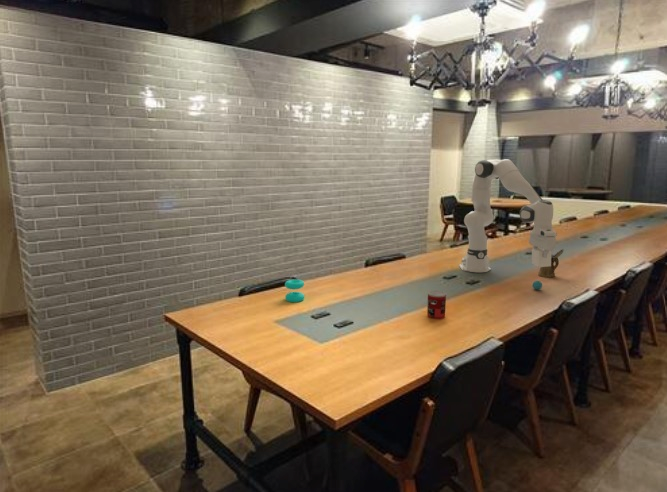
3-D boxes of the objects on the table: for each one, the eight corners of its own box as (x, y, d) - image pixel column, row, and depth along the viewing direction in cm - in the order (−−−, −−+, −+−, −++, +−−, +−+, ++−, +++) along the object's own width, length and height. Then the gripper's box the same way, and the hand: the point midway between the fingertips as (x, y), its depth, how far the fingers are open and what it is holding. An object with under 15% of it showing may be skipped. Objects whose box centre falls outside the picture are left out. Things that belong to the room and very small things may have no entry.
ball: (538, 278, 243) (539, 287, 244) (529, 280, 243) (531, 289, 244) (543, 280, 239) (544, 289, 239) (534, 283, 238) (536, 291, 239)
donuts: (292, 277, 234) (307, 280, 228) (293, 295, 236) (308, 298, 230) (280, 282, 225) (296, 284, 220) (281, 300, 227) (296, 304, 222)
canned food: (425, 313, 205) (425, 291, 203) (441, 313, 206) (442, 290, 204) (430, 319, 198) (430, 296, 196) (447, 318, 199) (448, 295, 196)
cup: (531, 264, 243) (531, 248, 241) (543, 263, 243) (544, 247, 242) (538, 267, 236) (538, 251, 234) (551, 266, 236) (551, 250, 235)
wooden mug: (556, 279, 261) (559, 250, 258) (535, 275, 272) (537, 246, 269) (564, 277, 266) (567, 248, 263) (543, 273, 277) (545, 245, 274)
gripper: (527, 227, 246) (525, 252, 249) (547, 233, 226) (544, 260, 229) (537, 227, 246) (535, 251, 249) (558, 233, 226) (556, 259, 229)
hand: (540, 255), depth 239 cm, fingers closed on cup, 7 cm apart
